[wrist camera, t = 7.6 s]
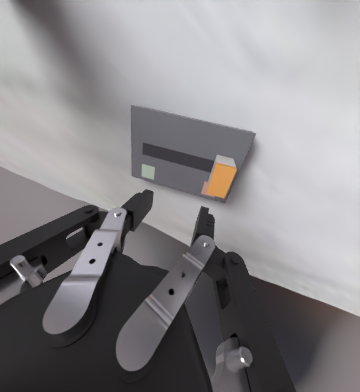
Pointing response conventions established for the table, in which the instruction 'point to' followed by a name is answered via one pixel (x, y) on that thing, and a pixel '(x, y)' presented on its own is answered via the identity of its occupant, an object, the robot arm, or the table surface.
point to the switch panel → (183, 149)
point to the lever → (221, 176)
